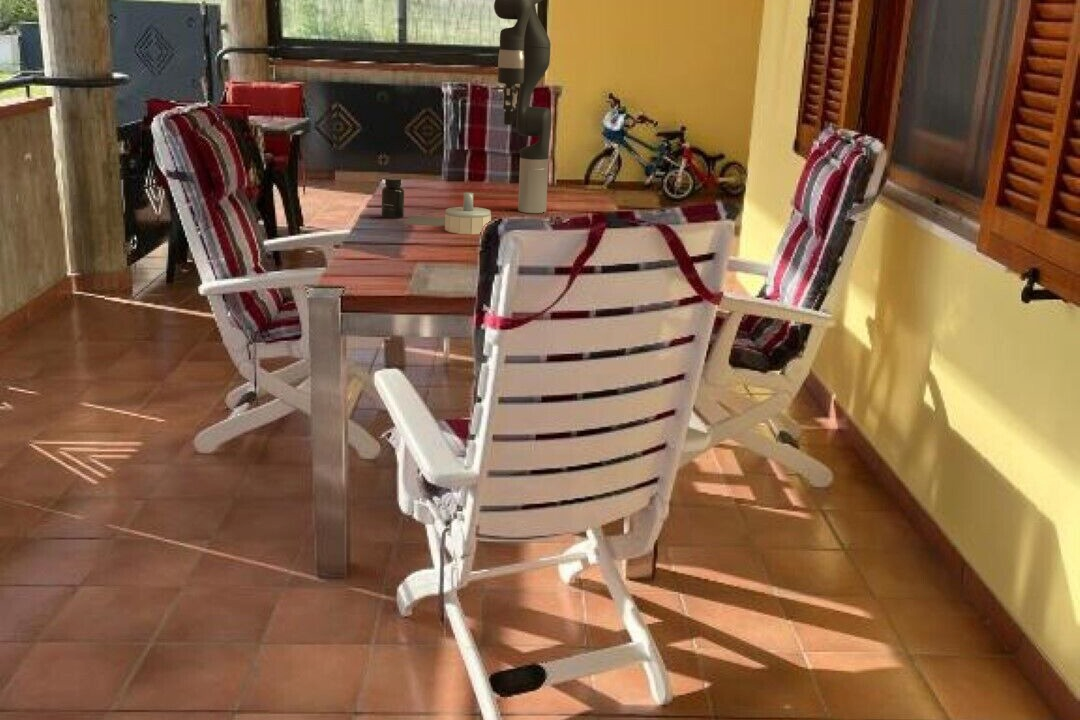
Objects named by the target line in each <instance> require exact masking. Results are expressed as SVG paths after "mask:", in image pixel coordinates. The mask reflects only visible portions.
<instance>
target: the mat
mask: <svg viewBox="0 0 1080 720" xmlns="http://www.w3.org/2000/svg"><path fill="white" fill-rule="evenodd" d="M402 225H417V226H431V227H433V226H434V227H435V226H437V227H445V216H444V217H442V216H441V217H438V216H424V215H423V216H420V215H410V216H409V217H408V218H407V219H406V220H405V221H404V222H403V223H402Z"/></svg>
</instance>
